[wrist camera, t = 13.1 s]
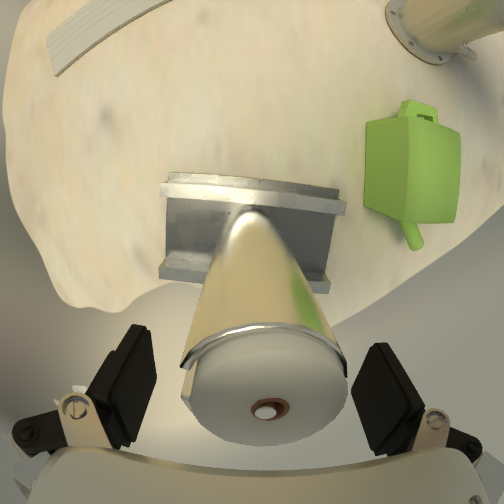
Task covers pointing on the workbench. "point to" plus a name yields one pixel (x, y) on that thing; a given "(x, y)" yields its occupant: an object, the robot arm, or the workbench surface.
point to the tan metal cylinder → (260, 342)
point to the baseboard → (92, 28)
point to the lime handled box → (412, 169)
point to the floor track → (237, 195)
